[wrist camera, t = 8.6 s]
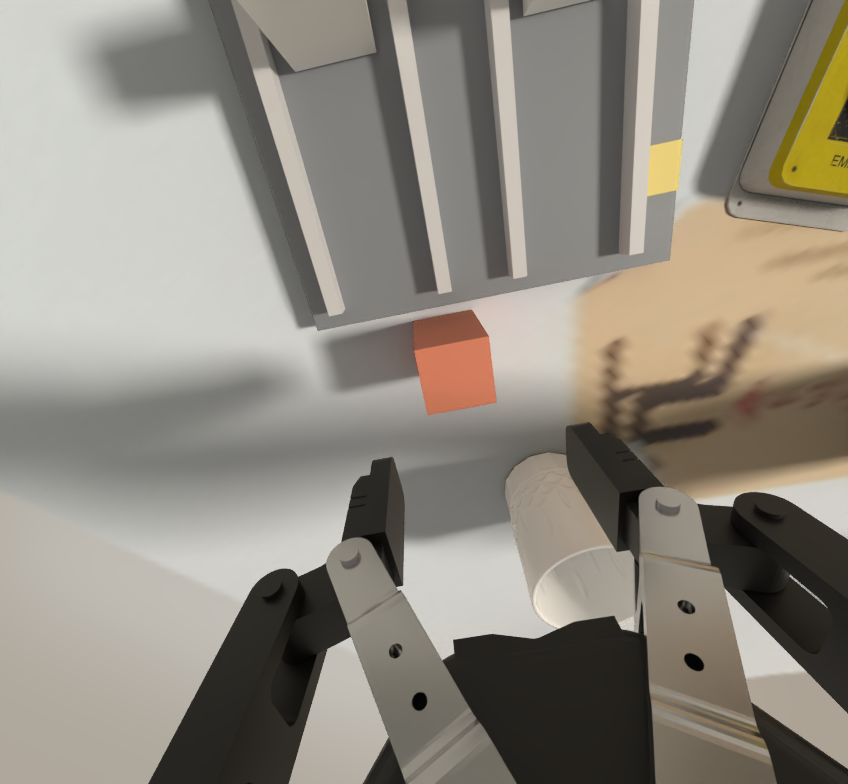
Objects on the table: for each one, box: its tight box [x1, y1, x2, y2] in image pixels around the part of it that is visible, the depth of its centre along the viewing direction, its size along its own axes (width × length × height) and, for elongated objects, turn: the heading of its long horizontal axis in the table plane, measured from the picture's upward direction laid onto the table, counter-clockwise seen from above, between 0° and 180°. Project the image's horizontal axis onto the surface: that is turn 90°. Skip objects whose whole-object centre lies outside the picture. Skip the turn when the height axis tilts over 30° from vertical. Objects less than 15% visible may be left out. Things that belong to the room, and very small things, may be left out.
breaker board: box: [209, 0, 694, 331], centre depth 18 cm, size 20×22×4 cm
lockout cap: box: [413, 310, 497, 415], centre depth 23 cm, size 4×4×6 cm
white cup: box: [505, 452, 634, 629], centre depth 27 cm, size 8×8×10 cm
